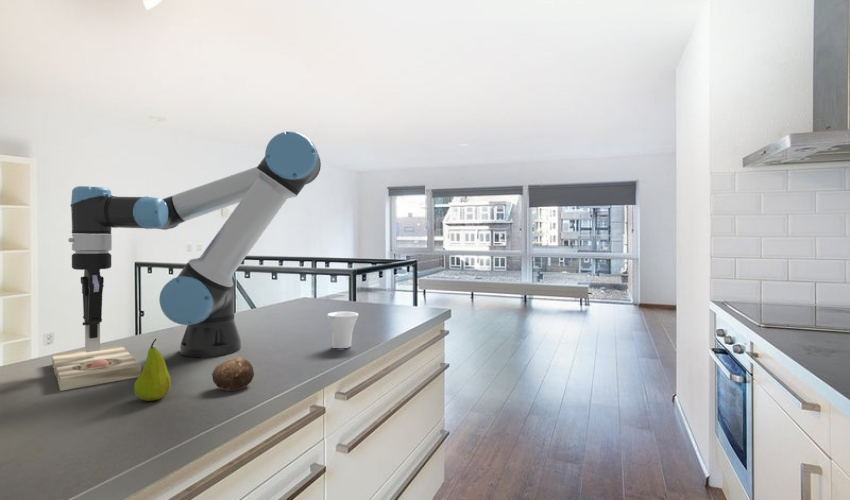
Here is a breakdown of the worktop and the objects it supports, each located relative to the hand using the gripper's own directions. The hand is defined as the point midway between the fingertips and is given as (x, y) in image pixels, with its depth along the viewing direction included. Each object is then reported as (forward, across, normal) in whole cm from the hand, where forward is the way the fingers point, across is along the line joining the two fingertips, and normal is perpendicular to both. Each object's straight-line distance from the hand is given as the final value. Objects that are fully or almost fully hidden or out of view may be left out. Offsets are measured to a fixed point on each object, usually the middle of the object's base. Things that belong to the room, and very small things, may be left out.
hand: (92, 350), depth 104 cm
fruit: (+4, +33, +5) cm, 33 cm away
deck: (+4, +3, 0) cm, 5 cm away
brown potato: (+4, +36, +19) cm, 41 cm away
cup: (+4, +23, +55) cm, 60 cm away
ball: (+2, +8, 0) cm, 8 cm away
